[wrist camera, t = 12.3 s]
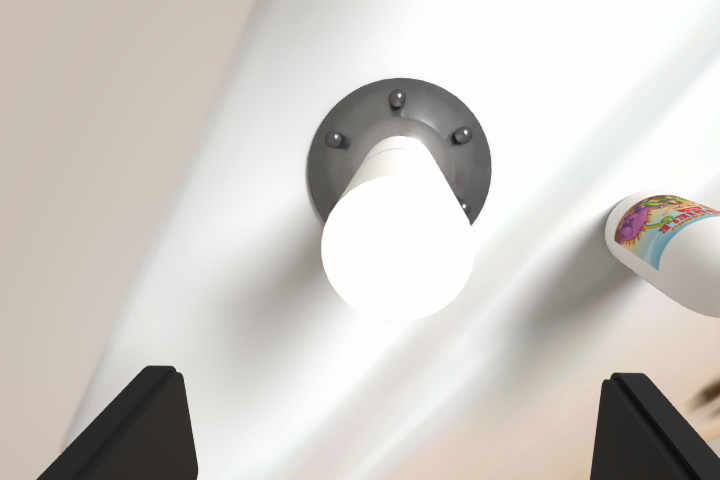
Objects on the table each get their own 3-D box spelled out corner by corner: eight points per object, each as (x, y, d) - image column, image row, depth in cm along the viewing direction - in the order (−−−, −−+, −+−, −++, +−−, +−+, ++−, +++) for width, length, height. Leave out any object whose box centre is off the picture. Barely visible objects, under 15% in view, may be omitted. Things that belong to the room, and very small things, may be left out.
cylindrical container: (359, 138, 45) (313, 180, 21) (434, 133, 44) (473, 170, 21) (365, 211, 47) (328, 324, 23) (437, 206, 46) (475, 318, 23)
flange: (303, 82, 45) (300, 82, 44) (494, 74, 44) (496, 73, 42) (315, 259, 50) (313, 262, 49) (486, 257, 49) (488, 261, 48)
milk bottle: (694, 245, 46) (897, 347, 27) (616, 276, 48) (756, 392, 29) (671, 175, 45) (869, 231, 26) (590, 209, 46) (722, 286, 27)
